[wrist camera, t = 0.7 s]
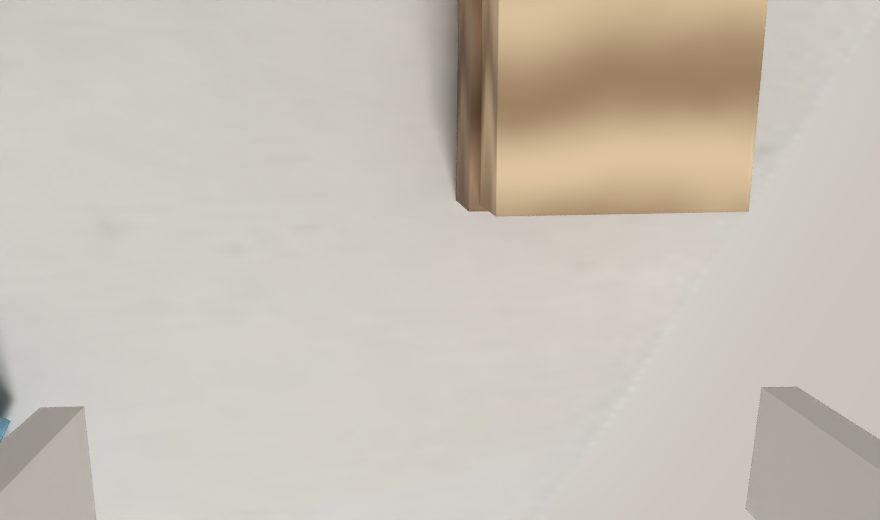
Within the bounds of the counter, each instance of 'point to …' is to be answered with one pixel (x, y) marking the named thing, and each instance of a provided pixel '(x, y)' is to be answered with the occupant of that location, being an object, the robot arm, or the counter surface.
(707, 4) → the oak block
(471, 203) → the walnut block
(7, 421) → the teapot
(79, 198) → the counter surface
